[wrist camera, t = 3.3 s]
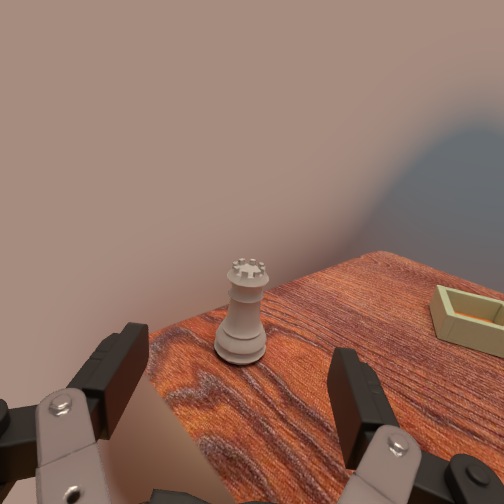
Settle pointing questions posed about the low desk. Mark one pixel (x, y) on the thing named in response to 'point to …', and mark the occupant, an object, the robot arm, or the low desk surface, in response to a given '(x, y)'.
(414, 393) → the low desk surface
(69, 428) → the robot arm
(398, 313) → the low desk surface
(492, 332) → the socket pad
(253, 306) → the rook chess piece
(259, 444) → the low desk surface
